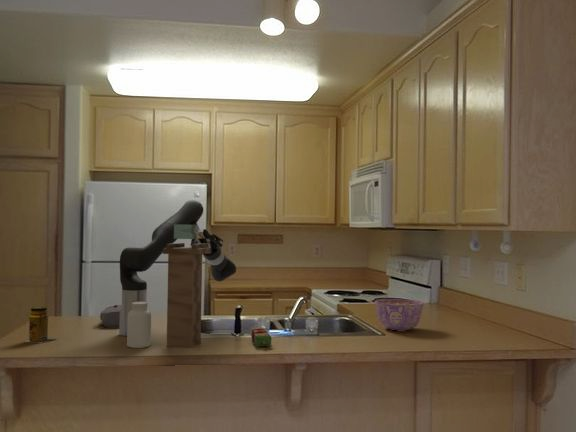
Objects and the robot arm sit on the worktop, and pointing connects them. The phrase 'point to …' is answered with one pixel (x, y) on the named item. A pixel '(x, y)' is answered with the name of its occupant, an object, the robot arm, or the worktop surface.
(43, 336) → the condiment
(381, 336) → the worktop surface
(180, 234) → the pull block
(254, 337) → the green red box
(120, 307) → the soft grey pack
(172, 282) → the brown wooden pedestal
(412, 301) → the bowl of food
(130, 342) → the pill bottle
